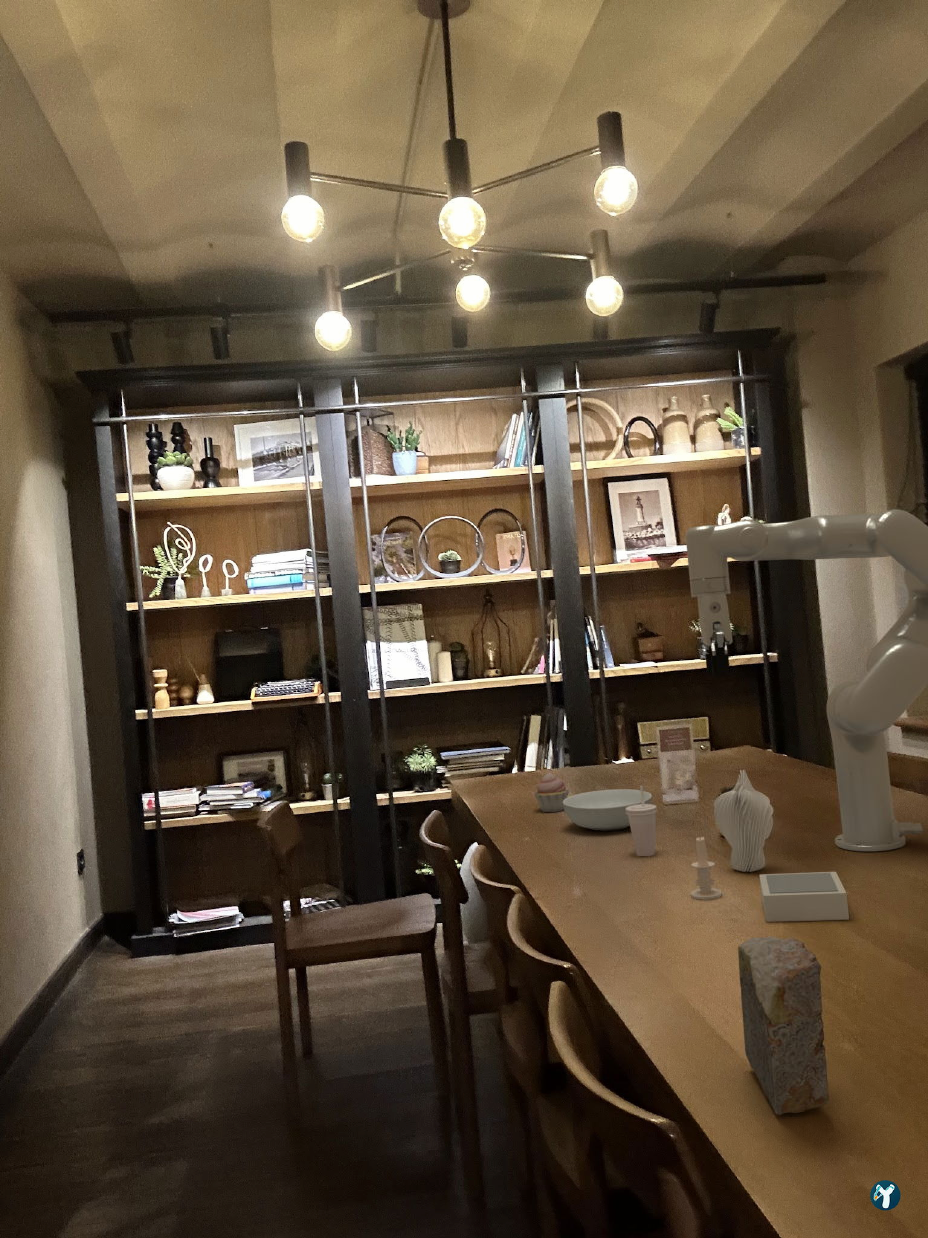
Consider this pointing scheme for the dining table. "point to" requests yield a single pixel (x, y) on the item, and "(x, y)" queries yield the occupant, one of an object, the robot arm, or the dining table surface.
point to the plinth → (803, 897)
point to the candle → (704, 874)
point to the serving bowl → (603, 808)
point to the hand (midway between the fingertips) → (718, 674)
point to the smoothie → (643, 826)
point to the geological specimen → (784, 1022)
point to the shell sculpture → (745, 823)
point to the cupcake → (551, 793)
